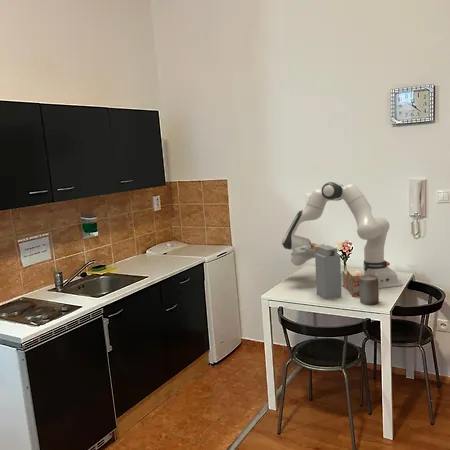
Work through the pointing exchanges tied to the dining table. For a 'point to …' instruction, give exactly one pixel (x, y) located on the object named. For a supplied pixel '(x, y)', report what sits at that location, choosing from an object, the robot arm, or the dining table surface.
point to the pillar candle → (369, 289)
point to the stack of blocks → (352, 281)
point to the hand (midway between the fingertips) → (314, 245)
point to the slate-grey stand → (328, 273)
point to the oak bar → (315, 247)
